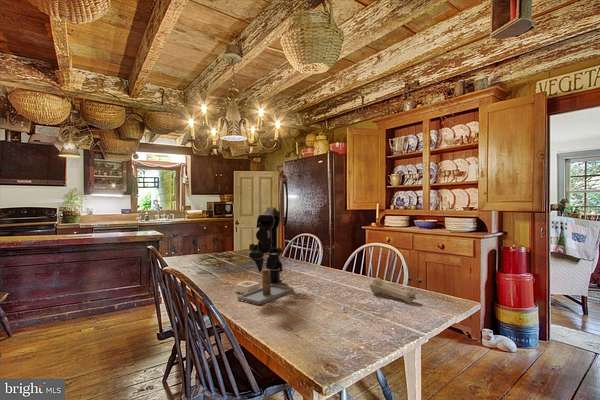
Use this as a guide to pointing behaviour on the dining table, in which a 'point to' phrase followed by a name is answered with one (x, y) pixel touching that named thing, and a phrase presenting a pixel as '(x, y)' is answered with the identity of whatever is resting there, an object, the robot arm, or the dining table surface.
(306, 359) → the dining table surface
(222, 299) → the dining table surface
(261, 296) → the tray
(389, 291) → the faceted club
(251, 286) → the square frame
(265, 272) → the pin
